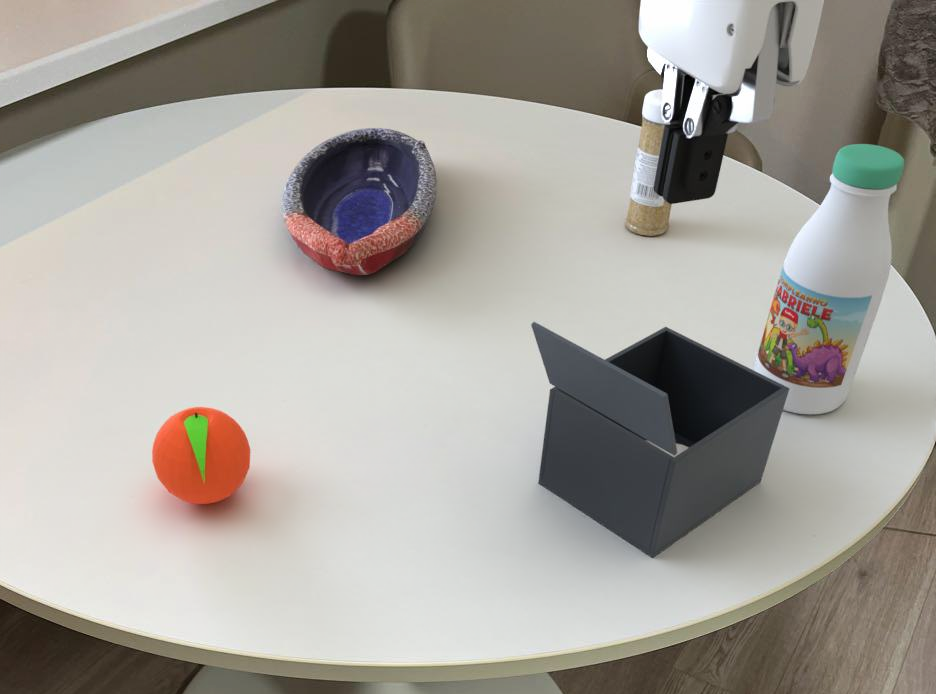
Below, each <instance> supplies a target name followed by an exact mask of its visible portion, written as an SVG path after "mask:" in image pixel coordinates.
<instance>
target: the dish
mask: <svg viewBox="0 0 936 694" xmlns="http://www.w3.org/2000/svg"><path fill="white" fill-rule="evenodd" d="M436 171H437V170H436V168H435V164H434V162H433V159H432V157H431V155H430V151H429V150H428V148H427V145H426V142H425V141H424V140H417V139H416V138H414V137H413V136H410V135H409V134H407V133H404V132H401V131H398V130H394V129H391V128H382V127H368V128H359V129H358V128H357V129H354V130H350V131H346V132H343V133H340V134H338V135H335V136H332V137H330V138H328V139H326V140H325V141H322V142H321V143H319V144H317V145H316V146H315V147H313V148H312V149H311V150H310V151H309V152H307V153H306V154H305V155H304V156H303V157H302V158H301V160H300V161H299V162H298V163H297V164H296V166H294V168H293V170H292V172H291V173H290V175H289V177H288V179H287V181H286V183H285V186H284V189H283V193H282V199H281V213H282V219H283V222H284V224H285V227H286V228H287V230H288V231H289V233H290V236H291V238H292V240H293V241H294V243H295V244H296V245H297V246H298V248H299V249H300V250H301V251H302V253H304V254H305V255H306V256H307V257H309V258H310V259H312V260H314V261H315V262H316V263H318V265H320V266H321V267H323V268H324V269H328V270H332V271H337V272H341V273H345V274H350V275H355V276H356V275H357V276H366V275H372V274H374V273H376V272H378V271H380V269H382V268H384V267H385V266H387V265H389V264H390V263H392V262H393V261H395V260H397V259H398V258H400V257H401V256H403V255H404V254H405V253H407V252H408V251H409V250H410V249H411V248H412V247H413V246H414V245H415V243H416V242H417V240H418V239H419V238H420V236H421V234H422V233H423V231H424V229H425V227H426V225H427V222H428V219H429V218H430V215H431V213H432V211H433V208H434V206H435V201H436V197H437V185H438V179H437V172H436Z"/></svg>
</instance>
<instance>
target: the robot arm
mask: <svg viewBox="0 0 936 694" xmlns="http://www.w3.org/2000/svg"><path fill="white" fill-rule="evenodd" d="M824 3H825V0H640V4H639V13H638V14H639V15H638V34H639V36H640V37H639V38H641V40H642V42H643V44H644V45H645V46H646V47H647V53H646V54H647V60H648V62H649V63H650V64H651V65H652V67H653V68H654V70H656V72H657V73H658V74H659V75H660V79H661V83H662V89H663V96H662V107H661V115H662V119H663V121H664V122H666V123H670V125H665V126H664V132H663V137H662V143H661V148H660V154H659V159H658V165H657V170H656V176H655V181H654V187H653V190H654V192H655V193H657V194H658V195H659V196H663V199H664V200H665V201H666V202H668V203H669V204H672V205H674V204H681V203H687V202H692V201H700V200H706V199H710V198H712V197H713V196H714V195H715V193H716V190H717V186H718V181H719V177H720V174H721V173H720V172H721V167H722V165H723V160H724V154H725V152H726V151H725V150H726V145H727V141H728V136H729V134H731V133H732V134H733V133H735V132H736V130H737V129H738V126H739V124H740V123H741V124H753V123H760V122H768V121H770V120H771V119H772V117H773V115H774V110H775V101H776V92H777V91H776V89H777V85H779V86H782V87H793V86H798V85H800V84H801V83H802V81H804V79H805V77H806V75H807V72H808V69H809V67H810V63H811V60H812V55H813V51H814V47H815V44H816V39H817V35H818V31H819V26H820V22H821V17H822V13H823V8H824Z"/></svg>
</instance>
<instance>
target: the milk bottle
mask: <svg viewBox="0 0 936 694" xmlns="http://www.w3.org/2000/svg"><path fill="white" fill-rule="evenodd" d="M904 168H905V159H904V157H903V156H902V155H901V154H900V153H899V152H897V151H895V150H894V149H892V148H888V147H885V146H881V145H877V144H871V143H870V144H869V143H857V144H856V143H853V144H847V145H845V146H843V147H841V148H840V149H839V150H838V152H837V153H836V154H835V159H834V160H833V166H832V173H831V174H830V176H829V182H830V183H831V184H830V187H829V190H828V192H827V193H826V195H825V197H824V199H823V201H821V204H820V205H819V206H818V208H817V209H816V210H815V211H814V213H813V214H812V216H810V218H809V219H808V220H807V222H805V223H804V225H803V226H802V227H801V228H800V230H799V231H798V233H797V234H796V235H795V237H794V238H793V241H792V243H791V245H790V246H789V249H788V251H787V254H786V255H785V258H784V262H783V265H782V268H781V271H780V273H779V278H778V281H777V284H776V287H775V290H774V291H775V292H774V293H773V298H772V301H771V305H770V309H769V312H768V316H767V319H766V323H765V327H764V329H763V333H762V336H761V337H762V338H761V340H760V345H759V348H758V350H757V351H758V352H757V355H756V358H755V363H754V367H753V370H754V371H756V372H758V373H760V374H762V375H764V376H766V377H768V378H770V379H772V380H774V381H776V382H778V383H780V384H782V385H784V386H786V387H788V388H789V392H788V395H787V398H786V402H785V405H784V408H783V411H786V412H790V413H793V414H800V415H821V414H827V413H830V412H833V411H835V410H836V409H838V408H839V407H840V406H841V405H842V404H843V403H845V401H846V399H847V398H848V396H849V393H850V390H851V388H852V384H853V382H854V379H855V376H856V374H857V371H858V368H859V366H860V362H861V360H862V357H863V354H864V352H865V349H866V345H867V343H868V340H869V338H870V335H871V332H872V328H873V325H874V322H875V320H876V316H877V314H878V311H879V308H880V305H881V302H882V298H883V296H884V292H885V290H886V287H887V284H888V279H889V276H890V271H891V267H892V253H893V252H892V250H893V249H892V239H891V234H890V227H889V203H890V198H891V195H892V194H893V193H895V192H896V191H897V188H898V186H897V185H898V184H899V182H900V179H901V177H902V174H903V171H904Z"/></svg>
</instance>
